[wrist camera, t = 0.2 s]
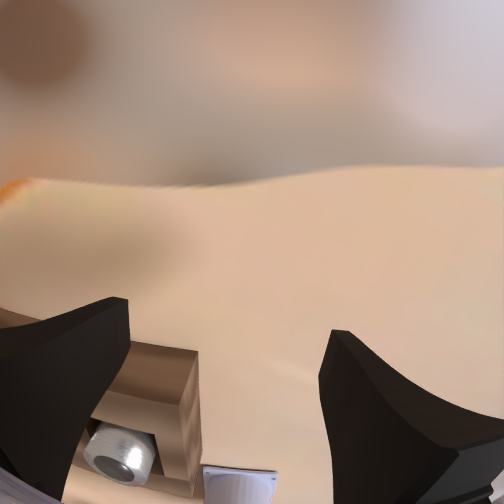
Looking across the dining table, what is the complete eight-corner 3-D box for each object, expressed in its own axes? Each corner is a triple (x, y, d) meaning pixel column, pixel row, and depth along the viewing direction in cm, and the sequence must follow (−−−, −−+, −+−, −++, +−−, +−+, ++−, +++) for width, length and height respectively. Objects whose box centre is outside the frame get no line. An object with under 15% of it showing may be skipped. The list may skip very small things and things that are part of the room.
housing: (202, 451, 26) (192, 498, 20) (29, 401, 27) (5, 431, 21) (197, 351, 22) (178, 405, 16) (-4, 307, 23) (-41, 333, 17)
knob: (169, 440, 23) (151, 493, 17) (117, 428, 23) (93, 476, 17) (162, 402, 21) (139, 461, 15) (106, 389, 22) (74, 440, 16)
